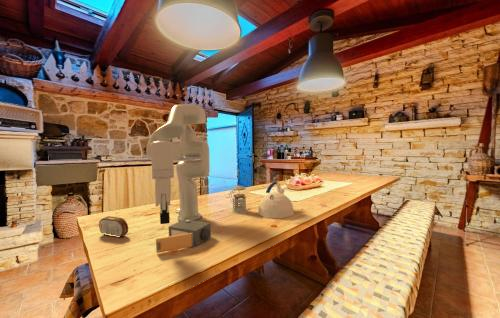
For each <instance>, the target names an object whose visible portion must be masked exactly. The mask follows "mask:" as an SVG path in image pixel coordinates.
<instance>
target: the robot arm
mask: <svg viewBox="0 0 500 318" xmlns="http://www.w3.org/2000/svg"><path fill="white" fill-rule="evenodd" d="M205 122H206V112H205V110H204V108H203V107H202V106H200V105H199V104H196V103H195V104H194V103H189V104H188V103H187V104H186V103H185V104H175V105H174V106H172V108H171V109H170V112H169V114H168V118H167V120H166V124H164V125H162V126H160V127H159V128H158V129H156V130H155V131H154V132H153V133H151V134H150V137H149V139H148V142H147V145H146V149H145V152H146V157H147V158H148V159H149V160H150V161H151V178H152V180H155V182H154V189H155V190H154V192H155V193H154V195H155V196H154V198H155V202H154V203H155V207H156V208H158V207H160V208H159V209H160V212H159V223H160V224H161V225H164V224H165V225H166V224H170V223H171V222H170V219H171V218H170V217H171V216H170V211H169V208H170V207H169V206H170V205H171V199H172V198H171V197H172V184H171V183H172V180H171V179H174V178H175V174H174V173H175V171H176V175H177V180H178V181H177V182H178V192H179V195H178V196H179V199H178V200H179V208H177V209H176V211H175V214H178V216H177V221H178V222H180V221H182V220H184V219H186V220H193V221H198V220H199V219H201V218H202V214H201V213H200V212H199V204H198V203H199V202H198V201H199V199H198V185H197V183H196V182H195V180H194V179H195V178H196V179H197V178H200V179H201V178H206V177H208V176H209V175H210V147H209V143H208V142H207V141H206V140H196V138H197V136H196V131H195V130H194V128H192V127H191V126H190V125H192V124H193V125H200V124H204V123H205ZM178 137H179V141H170V140H173V139H175V138H178ZM181 159H185V160H181ZM186 159H188V160H186ZM189 159H191V160H189ZM194 159H195V160H194ZM178 160H181V161H178ZM174 161H178V163H176V167H174ZM174 168H175V169H174Z"/></svg>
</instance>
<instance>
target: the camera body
mask: <svg viewBox="0 0 500 318" xmlns="http://www.w3.org/2000/svg"><path fill="white" fill-rule="evenodd" d="M211 231H212V230H211V222H208V221H206V222H205V221H200V220H186V219H184V220H182V221H177V222H176V223H173V224H171V225H169V226H168V237H169V236H175V235H181V234H187V233H193V247H198V246H199V245H200V244H202V243H204V242H205V241H207V240H208V239H210V238H211V237H212V233H211Z"/></svg>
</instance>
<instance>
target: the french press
mask: <svg viewBox="0 0 500 318" xmlns="http://www.w3.org/2000/svg"><path fill="white" fill-rule="evenodd" d="M236 172H237V174H238V175H237V176H238V179H240V174H239V172H241V170H240V169H237V170H236ZM246 189H247V188H246V187H245V186H242V185H237V186H234V187H232V190H231V191H230V192H229V196H228V197H229V198H230V199H232V200H230V202H231V203H232V210H231V213H232V214H236V215H242V214H246V213H248V212H249V209H247V198H246V195H245V194H244V193H237V194H233V193H235V192H236V191H238V192H240V191H245V190H246ZM232 195H233V196H232Z"/></svg>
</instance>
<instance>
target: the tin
mask: <svg viewBox="0 0 500 318" xmlns="http://www.w3.org/2000/svg"><path fill="white" fill-rule="evenodd" d="M98 228H99V232H100V233H101V234H102V233H106V234H111V235H116V236H122V237H124V236H126V235H127V234H128V232H129V225H128V223H127V221H126V219H124V218H122V217H119V216H118V217H117V216H105V217H103V218H101V219H100V220H99V222H98Z"/></svg>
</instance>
